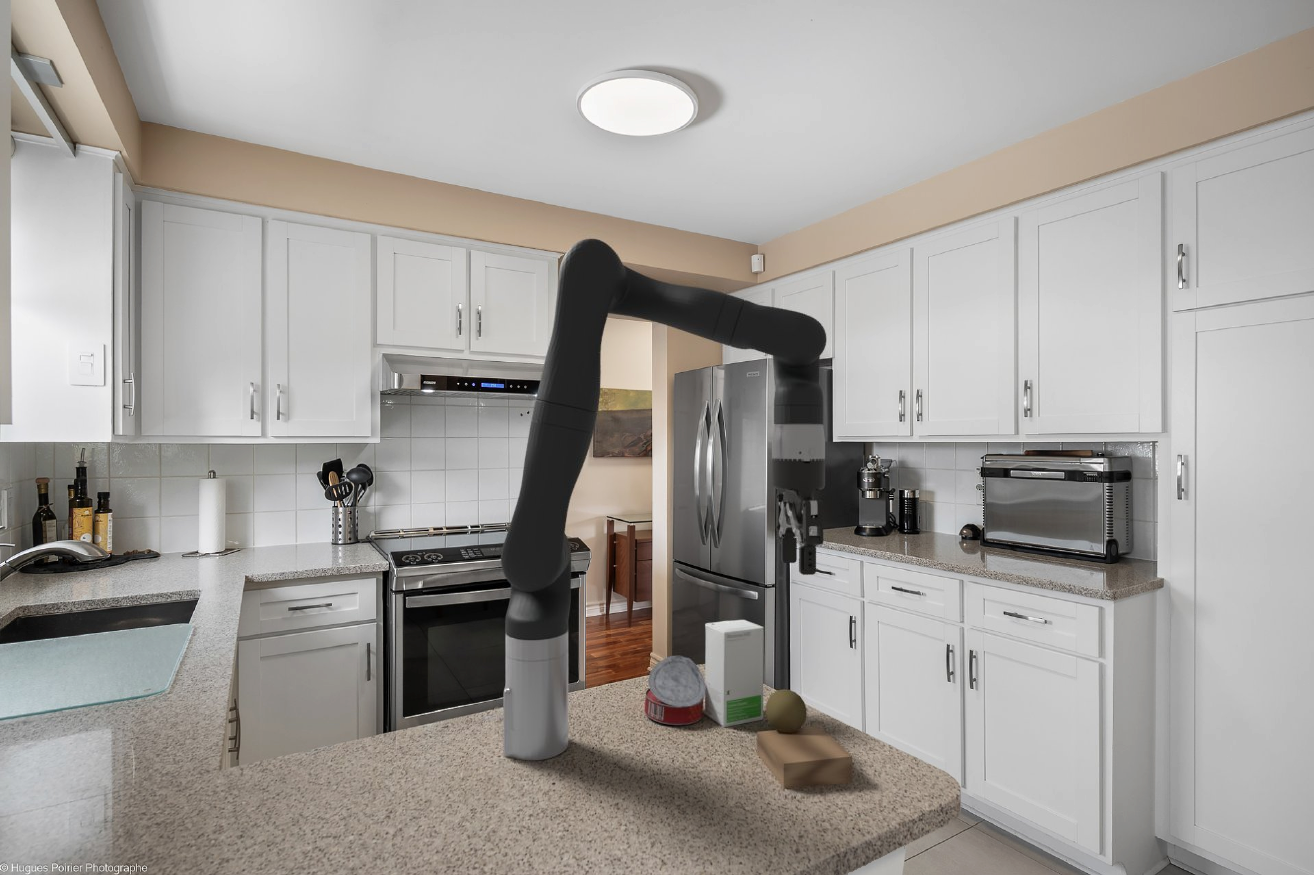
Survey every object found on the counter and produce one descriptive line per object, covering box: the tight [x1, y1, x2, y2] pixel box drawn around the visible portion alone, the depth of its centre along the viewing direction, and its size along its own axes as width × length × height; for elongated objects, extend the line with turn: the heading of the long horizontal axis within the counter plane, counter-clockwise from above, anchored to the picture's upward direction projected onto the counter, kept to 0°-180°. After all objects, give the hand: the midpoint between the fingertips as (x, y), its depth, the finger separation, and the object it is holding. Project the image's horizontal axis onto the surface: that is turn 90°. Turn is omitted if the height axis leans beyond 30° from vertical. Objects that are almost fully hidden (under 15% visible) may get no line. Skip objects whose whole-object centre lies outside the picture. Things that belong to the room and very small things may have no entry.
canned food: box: [644, 654, 706, 726], centre depth 113 cm, size 11×10×10 cm
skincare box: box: [704, 619, 765, 728], centre depth 113 cm, size 8×7×16 cm
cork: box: [765, 689, 808, 733], centre depth 105 cm, size 6×6×11 cm
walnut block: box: [756, 725, 853, 789], centre depth 95 cm, size 10×10×4 cm
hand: (797, 568), depth 97 cm, fingers open, 8 cm apart
